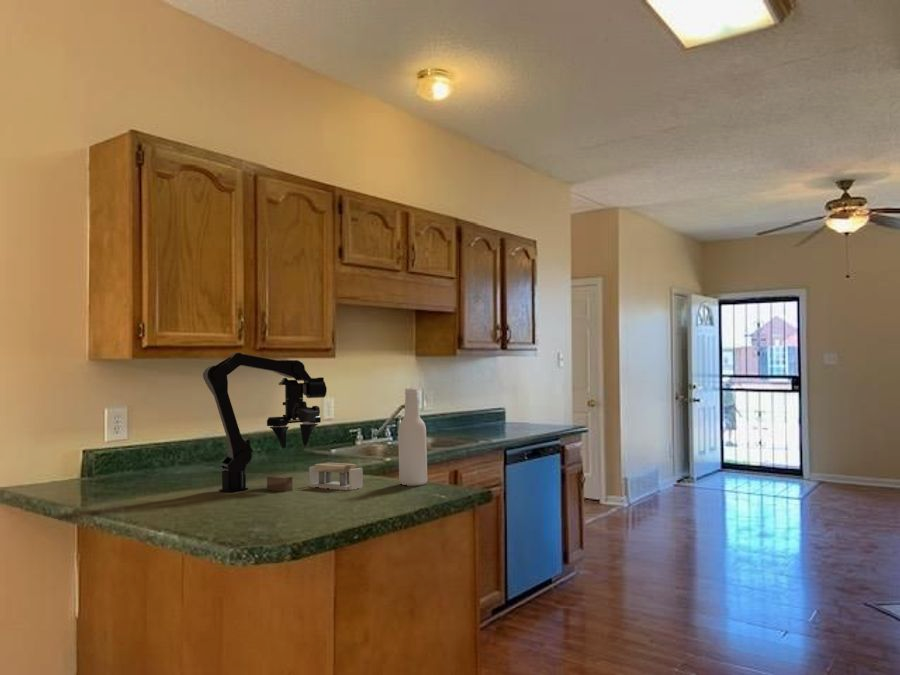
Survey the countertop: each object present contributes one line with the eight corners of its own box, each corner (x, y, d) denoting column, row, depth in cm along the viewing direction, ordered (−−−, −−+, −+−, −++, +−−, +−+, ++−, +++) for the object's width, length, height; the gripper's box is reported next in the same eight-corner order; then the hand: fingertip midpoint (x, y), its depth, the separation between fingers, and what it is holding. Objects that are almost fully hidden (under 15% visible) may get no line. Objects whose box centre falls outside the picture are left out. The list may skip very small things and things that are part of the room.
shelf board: (343, 472, 210) (343, 466, 210) (314, 471, 216) (314, 464, 217) (356, 470, 215) (356, 464, 215) (328, 468, 221) (328, 462, 222)
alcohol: (395, 483, 219) (393, 388, 221) (420, 481, 223) (418, 388, 225) (406, 487, 211) (403, 388, 213) (432, 484, 215) (429, 388, 217)
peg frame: (349, 490, 207) (349, 470, 208) (307, 486, 217) (306, 467, 218) (365, 487, 213) (364, 467, 214) (322, 483, 223) (322, 464, 224)
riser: (285, 491, 209) (284, 478, 209) (267, 489, 213) (267, 476, 213) (292, 490, 211) (292, 476, 211) (274, 488, 216) (274, 475, 216)
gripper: (289, 399, 214) (290, 450, 213) (332, 397, 229) (333, 444, 228) (265, 399, 220) (266, 449, 219) (308, 397, 235) (309, 444, 234)
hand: (294, 446), depth 225 cm, fingers open, 9 cm apart
